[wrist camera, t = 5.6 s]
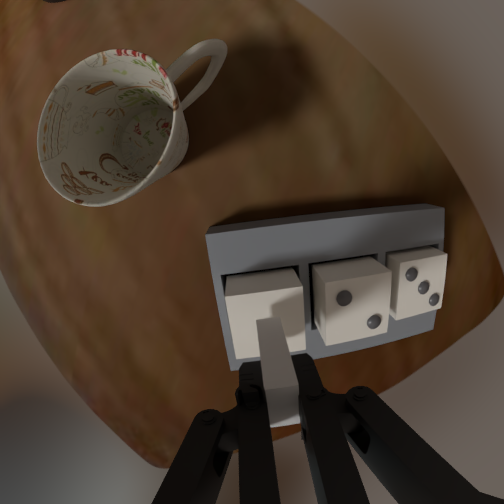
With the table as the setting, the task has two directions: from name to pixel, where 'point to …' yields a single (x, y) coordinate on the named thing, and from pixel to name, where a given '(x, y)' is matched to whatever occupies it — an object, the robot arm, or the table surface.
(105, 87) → the mug
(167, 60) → the table surface
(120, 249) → the table surface
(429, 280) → the white block with dots
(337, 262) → the white die
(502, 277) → the table surface
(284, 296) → the white block
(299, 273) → the board
